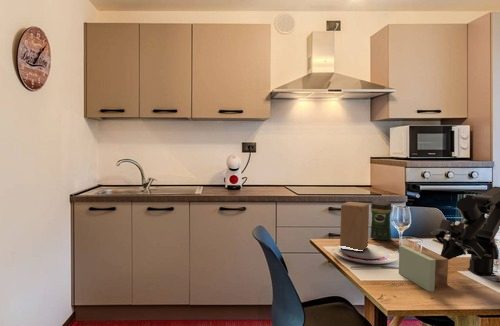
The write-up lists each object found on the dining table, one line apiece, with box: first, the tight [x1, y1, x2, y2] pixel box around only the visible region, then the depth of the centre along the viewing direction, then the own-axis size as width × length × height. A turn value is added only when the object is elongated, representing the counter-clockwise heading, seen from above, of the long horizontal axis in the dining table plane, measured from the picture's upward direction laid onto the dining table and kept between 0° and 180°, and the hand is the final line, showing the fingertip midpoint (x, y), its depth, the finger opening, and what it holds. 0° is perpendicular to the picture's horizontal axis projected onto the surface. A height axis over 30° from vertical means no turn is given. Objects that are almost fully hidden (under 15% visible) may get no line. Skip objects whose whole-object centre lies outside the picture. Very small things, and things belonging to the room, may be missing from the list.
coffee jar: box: [369, 200, 393, 241], centre depth 172 cm, size 10×8×19 cm
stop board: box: [398, 244, 436, 292], centre depth 119 cm, size 2×16×10 cm, turn 10°
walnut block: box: [419, 251, 449, 286], centre depth 120 cm, size 8×8×8 cm
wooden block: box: [339, 201, 370, 251], centre depth 155 cm, size 10×10×20 cm
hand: (440, 260), depth 120 cm, fingers closed, pressing on walnut block
